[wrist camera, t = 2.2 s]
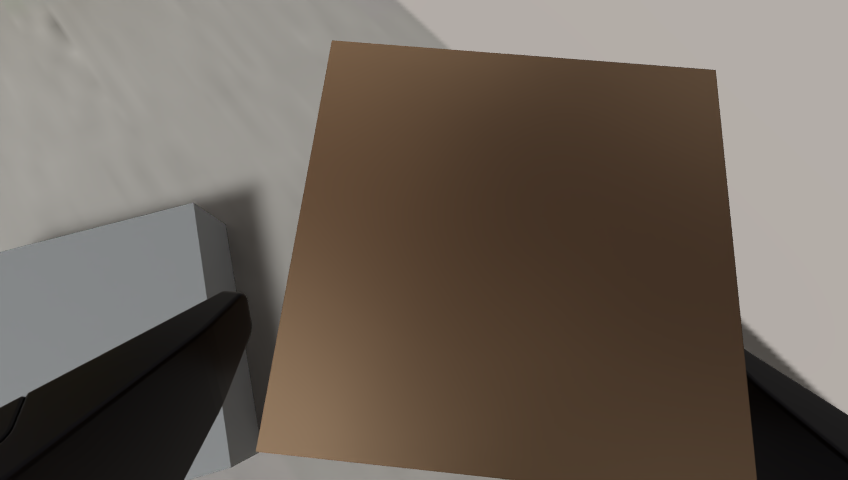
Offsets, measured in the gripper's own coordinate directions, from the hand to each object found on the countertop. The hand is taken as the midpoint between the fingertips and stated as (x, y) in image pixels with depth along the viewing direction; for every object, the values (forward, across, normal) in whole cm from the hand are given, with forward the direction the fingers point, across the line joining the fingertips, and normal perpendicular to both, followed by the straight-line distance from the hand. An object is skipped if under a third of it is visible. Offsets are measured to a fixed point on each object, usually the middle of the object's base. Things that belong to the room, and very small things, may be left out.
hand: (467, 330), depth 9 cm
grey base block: (+5, +12, +8) cm, 15 cm away
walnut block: (+6, 0, +6) cm, 8 cm away
